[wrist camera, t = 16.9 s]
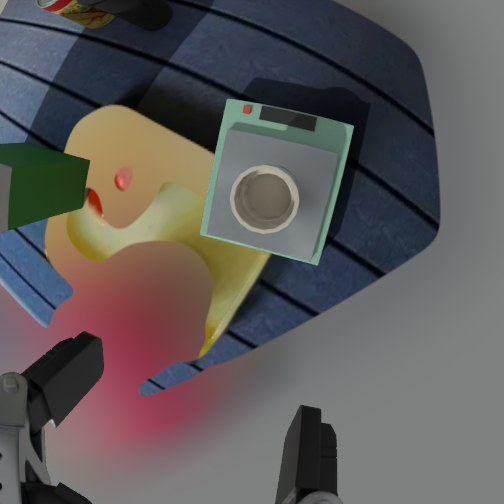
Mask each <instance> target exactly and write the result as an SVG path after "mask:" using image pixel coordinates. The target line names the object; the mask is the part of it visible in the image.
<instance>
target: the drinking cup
mask: <svg viewBox="0 0 504 504" xmlns="http://www.w3.org/2000/svg"><path fill="white" fill-rule="evenodd" d="M77 2H78V3H79V4H81V5H83V6H92V7H95V8H97V9H100V10H102V11H105V12H107V13H109V14H112V15H114V16H116V17H119V18H121V19H123V20H126V21H128V22H130V23H132V24H134V25H137V26H139V27H141V28H143V29H145V30H147V31H155V30H158V29H160V28H162V27H164V26H165V25H166V24H167V23H168V22H169V20H170V19H171V16H172V9H171V7H170V6H169V4H168V3H167V2H166V0H77Z"/></svg>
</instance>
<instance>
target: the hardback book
mask: <svg viewBox="0 0 504 504" xmlns="http://www.w3.org/2000/svg"><path fill="white" fill-rule="evenodd" d="M89 164H90V160H87V159H84V158H80V157H76V156H72V155H69V154H66V153H62V152H58V151H54V150H51V149H47V148H43V147H39V146H36V145H32V144H28V143H8V144H0V233H2V232H5V231H8V230H11V229H14V228H17V227H20V226H23V225H27V224H30V223H33V222H36V221H39V220H43V219H46V218H49V217H52V216H56V215H60V214H63V213H67V212H70V211H74V210H77V209H81V208H82V205H83V198H84V192H85V186H86V180H87V175H88V169H89Z"/></svg>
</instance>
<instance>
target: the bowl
mask: <svg viewBox="0 0 504 504" xmlns="http://www.w3.org/2000/svg"><path fill="white" fill-rule="evenodd" d="M230 202H231V208H232V211H233V214H234V215H235V217H236V218H237V220H238V221H239V223H240V224H242V225H243V226H245V227H246V228H247V229H249V230H250V231H253V232H257V233H261V234H267V233H274V232H278V231H280V230H281V229H283V228H285V227H286V226H288V225H289V224H290V222H291V221H292V220H293V218H294V217H295V216H296V214H297V210H298V206H299V202H300V191H299V185H298V183H297V181H296V180H295V178H294V177H293V175H292V174H291V173H290V172H288V171H287V170H285V169H284V168H282V167H279V166H275V165H260V166H254V167H251V168H249V169H247V170H246V171H244V172H243V173H241V174H240V175H239V177H238V178H237V179H236V181H235V182H234V184H233V186H232V190H231V195H230Z"/></svg>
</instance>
